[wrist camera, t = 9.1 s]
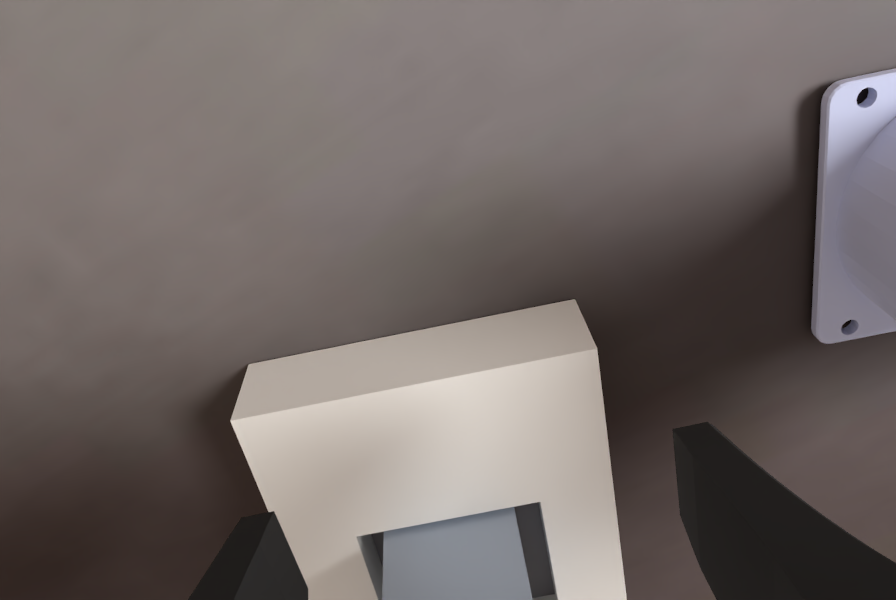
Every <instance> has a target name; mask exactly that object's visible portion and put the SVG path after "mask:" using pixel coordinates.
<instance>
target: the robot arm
mask: <svg viewBox="0 0 896 600" xmlns="http://www.w3.org/2000/svg"><path fill="white" fill-rule="evenodd" d="M867 87H868V91H869V93H868V96H867V98H866V99H865V100H864V101H863V102H862V103H860V104H857V101H856V100H857V96H858V94H859V93H860V92H861V91H862V90H863V89H865V88H867ZM849 320H851V323H850V324H849V325H848V326H847V327H844V328H842V325H843V324H844V323H845V322H846V321H849ZM811 330H812V333H813V335H814V336H815V337H816V338H817V339H818V340H819V341H820V342H822V343H825V344H832V343H837V342H842V341H847V340H853V339H858V338H863V337H868V336H873V335H878V334H883V333H889V332H894V331H896V68H895V69H890V70H885V71H880V72H875V73H871V74H866V75H861V76H856V77H851V78H847V79H842V80H839V81H837V82H834V83H833V84H832V85H831V86H829V87H828V88H827V90H826V91H825V93H824V94H823V97H822V101H821V119H820V141H819V163H818V186H817V208H816V231H815V253H814V275H813V298H812V320H811ZM673 439H674V451H675V462H676V474H677V485H678V497H679V508H680V516H681V518H682V521H683V524H684V526H685V529H686V532H687V534H688V537H689V540H690V542H691V545H692V548H693V550H694V553H695V555H696V558H697V560H698V563H699V565H700V568H701V570H702V572H703V574H704V576H705V578H706V580H707V582H708V584H709V586H710V588H711V590H712V592H713V593H714V595H715V597H716V599H717V600H896V563H895V562H893V561H891V560H890V559H888V558H886V557H885V556H883V555H882V554H880V553H878V552H877V551H875V550H874V549H872V548H870V547H869V546H867V545H866V544H864V543H863V542H861V541H860V540H858V539H857V538H855V537H854V536H852V535H851V534H849V533H848V532H846V531H845V530H843V529H842V528H841V527H839V526H838V525H836V524H835V523H833V522H832V521H830V520H829V519H828V518H826V517H825V516H823V515H822V514H821V513H819V512H818V511H817V510H815V509H814V508H812V507H811V506H810V505H808V504H807V503H806V502H804V501H803V500H802V499H801V498H799V497H798V496H797V495H795V494H794V493H793V492H791V491H790V490H789V489H788V488H786V487H785V486H784V485H782V484H781V483H780V482H779V481H777V480H776V479H775V478H774V477H772V476H771V475H770V474H769V473H767V472H766V471H765V470H764V469H763V468H761V467H760V466H759V465H758V464H757V463H755V462H754V461H753V460H752V459H751V458H749V457H748V456H747V455H746V454H745V453H744V452H742V451H741V450H740V449H739V448H738V447H737V446H736V445H734V444H733V443H732V442H731V441H730V440H729V439H728V438H726V437H725V436H724V435H723V434H722V433H721V432H720V431H719V430H718V429H716V428H715V427H714V426H713V425H711V424H710V423H708V422H705V423H700V424H695V425H691V426H686V427H681V428H676V429H673ZM188 600H308V587H307V585H306V582H305V580H304V578H303V575H302V573H301V571H300V569H299V566H298V564H297V562H296V560H295V557H294V555H293V553H292V551H291V548H290V546H289V544H288V541H287V539H286V537H285V535H284V532H283V530H282V528H281V526H280V523H279V521H278V519H277V517H276V514H275V512H274V511H272V512H268V513H263V514H258V515H253V516H248V517H243V518H241V519H240V521H239V522H238V524H237V525H236V527H235V528H234V530H233V531H232V533H231V534H230V536H229V537H228V539H227V541H226V542H225V544H224V545H223V547H222V548H221V550H220V551H219V553H218V555H217V556H216V558H215V559H214V561H213V562H212V564H211V565H210V567H209V569H208V570H207V572H206V573H205V575H204V576H203V578H202V579H201V581H200V582H199V584H198V586H197V587H196V589H195V590H194V592H193V593H192V595H191V596H190V597H189V599H188Z"/></svg>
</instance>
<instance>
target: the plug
mask: <svg viewBox="0 0 896 600" xmlns="http://www.w3.org/2000/svg"><path fill="white" fill-rule="evenodd" d="M382 600H533V599H532V594H531V588H530V583H529V578H528V573H527V568H526V563H525V558H524V553H523V548H522V543H521V538H520V533H519V528H518V523H517V518H516V513H515V508H514V507H510V508H505V509H499V510H494V511H489V512H483V513H478V514H473V515H468V516H462V517H457V518H452V519H447V520H441V521H436V522H431V523H425V524H420V525H415V526H410V527H404V528H399V529H394V530H389V531H384V542H383V586H382Z"/></svg>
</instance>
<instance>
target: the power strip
mask: <svg viewBox="0 0 896 600" xmlns="http://www.w3.org/2000/svg"><path fill="white" fill-rule="evenodd" d="M230 421H231V424H232V426H233V429H234V431H235V433H236V436H237V438H238V440H239V443H240V445H241V448H242V450H243V452H244V455H245V457H246V459H247V462H248V464H249V467H250V469H251V471H252V474H253V476H254V479H255V481H256V483H257V486H258V488H259V490H260V493H261V495H262V498H263V500H264V502H265V505H266V507H267V509H268V512H272V511H274V512H275V514H276V517H277V519H278V521H279V523H280V526H281V528H282V530H283V532H284V535H285V537H286V539H287V541H288V544H289V546H290V548H291V551H292V553H293V555H294V557H295V560H296V562H297V564H298V566H299V569H300V571H301V573H302V575H303V578H304V580H305V582H306V585H307V587H308V600H382V586H383V542H384V531H389V530H394V529H399V528H404V527H410V526H415V525H420V524H425V523H431V522H436V521H441V520H447V519H452V518H457V517H462V516H468V515H473V514H478V513H483V512H489V511H494V510H499V509H505V508H510V507H514V508H515V513H516V518H517V523H518V528H519V533H520V538H521V543H522V548H523V553H524V558H525V563H526V568H527V573H528V578H529V583H530V588H531V594H532V599H533V600H627V598H626V589H625V581H624V572H623V564H622V555H621V547H620V538H619V530H618V521H617V513H616V504H615V496H614V487H613V479H612V470H611V462H610V453H609V445H608V436H607V428H606V419H605V411H604V402H603V394H602V385H601V376H600V368H599V359H598V351H597V347H596V345H595V342H594V340H593V338H592V336H591V334H590V331H589V329H588V327H587V325H586V322H585V320H584V318H583V316H582V314H581V311H580V309H579V307H578V305H577V302H576V300H575V299H572V300H567V301H562V302H557V303H552V304H547V305H542V306H537V307H532V308H527V309H522V310H517V311H512V312H507V313H502V314H497V315H492V316H487V317H482V318H477V319H472V320H467V321H462V322H457V323H452V324H447V325H442V326H437V327H432V328H427V329H422V330H417V331H412V332H407V333H402V334H397V335H392V336H387V337H382V338H377V339H372V340H367V341H362V342H357V343H352V344H347V345H342V346H337V347H332V348H327V349H322V350H317V351H312V352H307V353H302V354H297V355H292V356H287V357H282V358H277V359H272V360H267V361H262V362H257V363H252V364H249V365H248V368H247V371H246V374H245V377H244V380H243V383H242V386H241V389H240V393H239V396H238V399H237V402H236V405H235V408H234V411H233V414H232V417H231V420H230Z"/></svg>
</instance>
